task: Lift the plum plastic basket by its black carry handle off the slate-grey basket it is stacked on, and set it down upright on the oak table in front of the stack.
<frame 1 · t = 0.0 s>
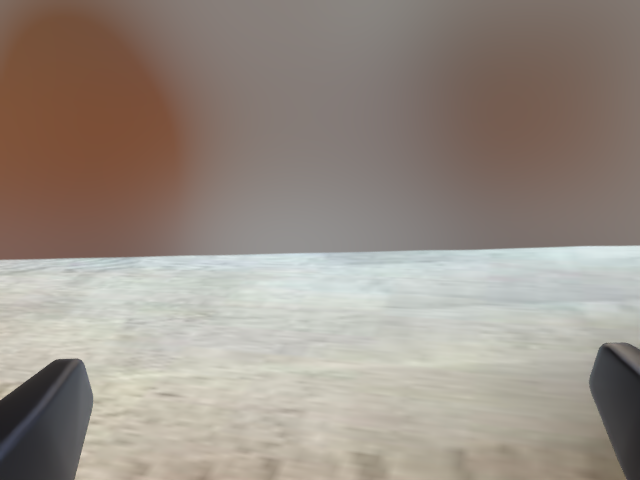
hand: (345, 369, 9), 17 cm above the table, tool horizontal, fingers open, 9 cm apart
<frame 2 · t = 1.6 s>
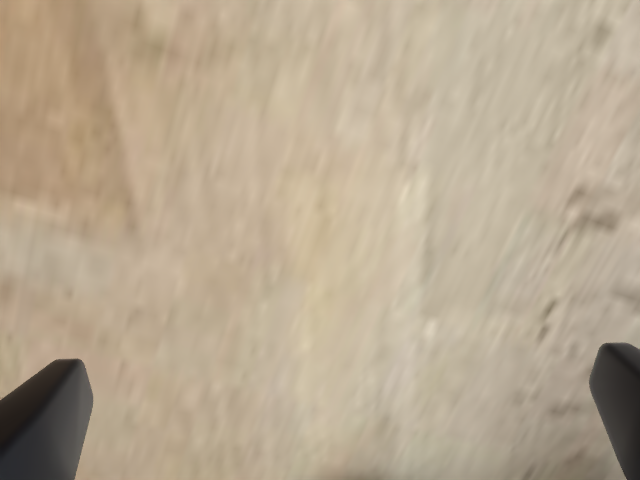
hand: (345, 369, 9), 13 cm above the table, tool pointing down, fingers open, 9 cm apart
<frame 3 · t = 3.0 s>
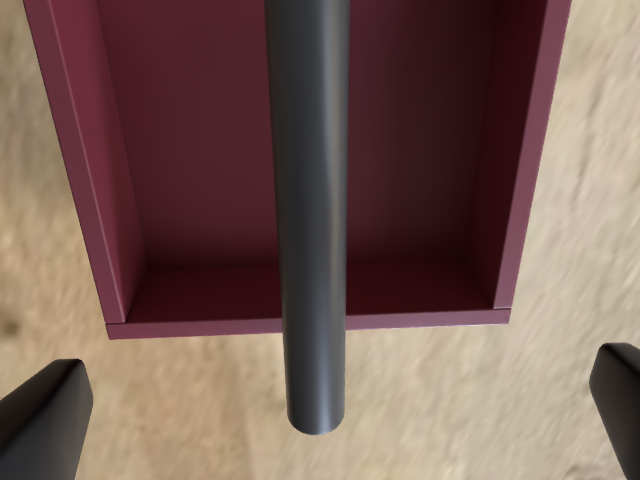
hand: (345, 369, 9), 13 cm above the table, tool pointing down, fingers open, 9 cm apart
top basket: (304, 134, 17), point 4 cm above the table, touching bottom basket
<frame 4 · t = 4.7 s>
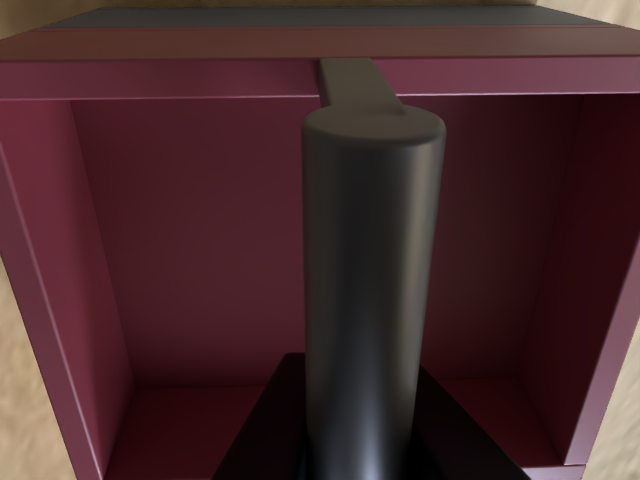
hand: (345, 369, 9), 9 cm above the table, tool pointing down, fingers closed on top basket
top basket: (329, 238, 13), point 4 cm above the table, touching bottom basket, gripper
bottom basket: (322, 177, 17), on the table, touching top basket
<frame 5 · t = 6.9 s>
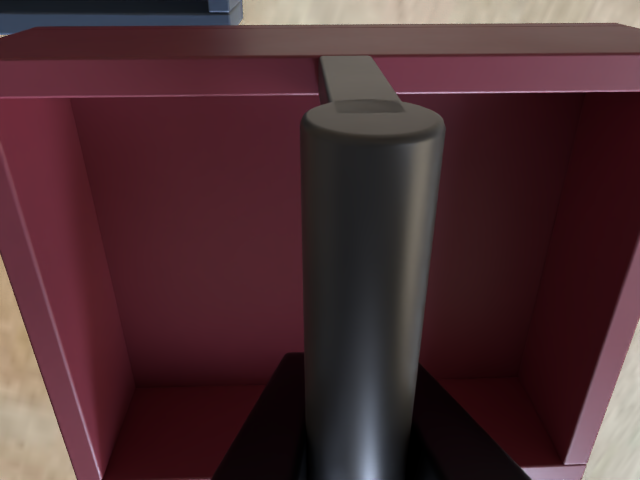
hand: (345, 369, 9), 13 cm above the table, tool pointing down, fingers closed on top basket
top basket: (329, 237, 13), point 8 cm above the table, touching gripper
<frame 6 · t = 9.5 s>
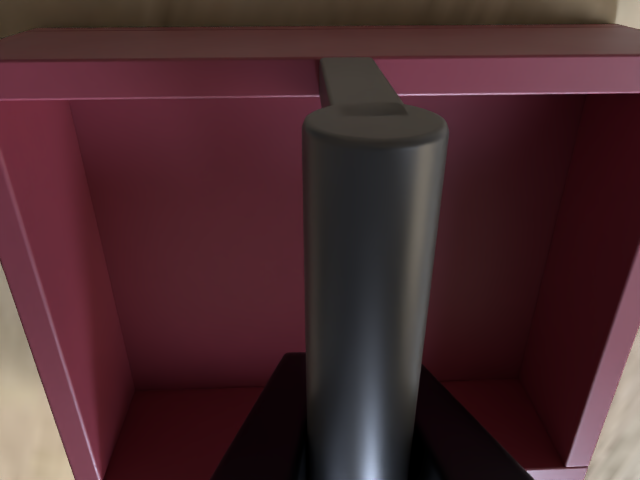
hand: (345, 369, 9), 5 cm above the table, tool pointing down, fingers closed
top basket: (329, 239, 13), on the table
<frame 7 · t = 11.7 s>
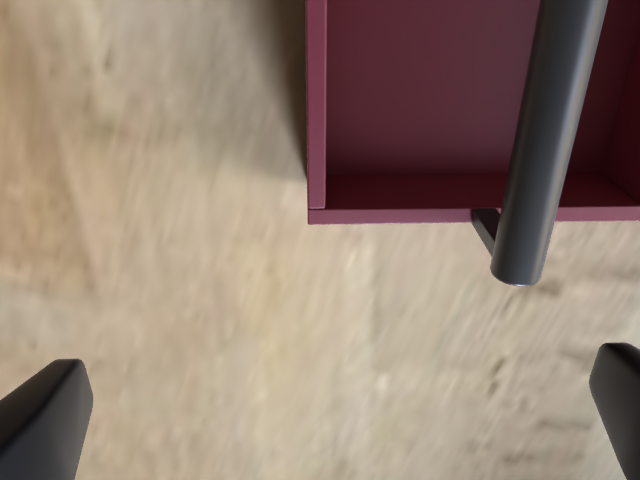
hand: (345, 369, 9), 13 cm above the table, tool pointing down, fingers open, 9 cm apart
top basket: (474, 52, 19), on the table
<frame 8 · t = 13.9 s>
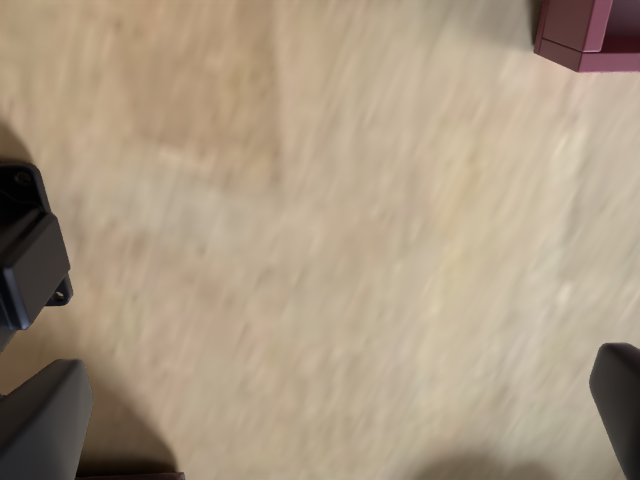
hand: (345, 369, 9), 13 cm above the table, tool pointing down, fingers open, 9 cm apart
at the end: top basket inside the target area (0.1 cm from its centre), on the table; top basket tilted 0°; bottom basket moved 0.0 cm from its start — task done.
